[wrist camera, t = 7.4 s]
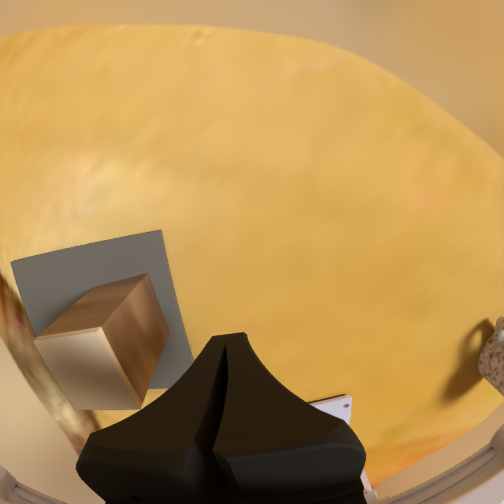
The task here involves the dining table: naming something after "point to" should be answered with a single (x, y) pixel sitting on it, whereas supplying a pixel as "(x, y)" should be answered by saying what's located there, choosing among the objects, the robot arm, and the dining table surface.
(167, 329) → the walnut block
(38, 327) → the mat
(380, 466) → the dining table surface
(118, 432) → the robot arm
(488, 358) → the mug
